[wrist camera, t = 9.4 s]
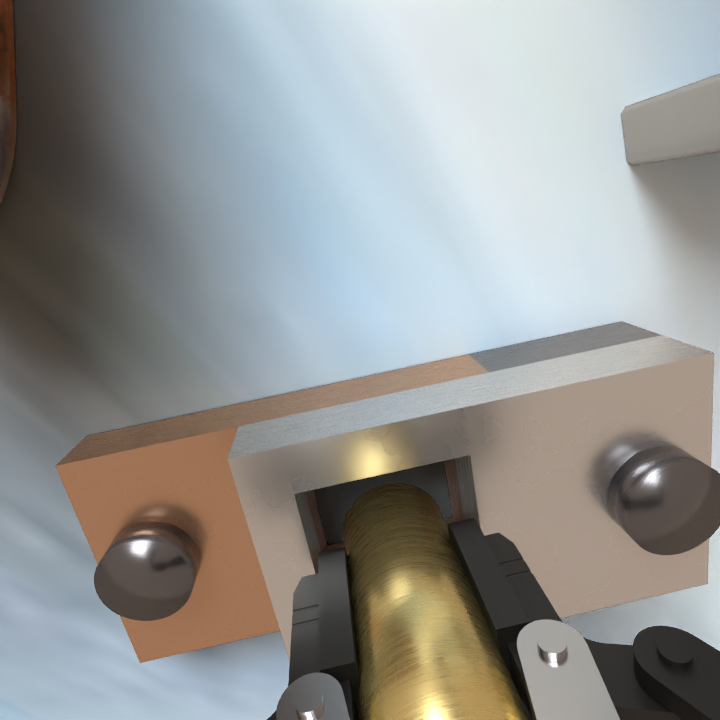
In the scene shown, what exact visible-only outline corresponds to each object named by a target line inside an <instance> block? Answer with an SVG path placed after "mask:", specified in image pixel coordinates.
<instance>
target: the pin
mask: <svg viewBox="0 0 720 720" xmlns="http://www.w3.org/2000/svg"><path fill="white" fill-rule="evenodd" d="M343 538H344V546H345V549H346V552H347V557H348V567H349V577H350V586H351V596H352V606H353V616H354V625H355V635H356V645H357V655H358V665H359V674H360V689H359V708H360V718H361V720H530V719H529V717H528V714H527V712H526V710H525V708H524V705H523V703H522V701H521V698H520V696H519V694H518V691H517V689H516V687H515V684H514V682H513V680H512V677H511V675H510V673H509V670H508V668H507V666H506V663H505V661H504V659H503V657H502V656H501V654H500V653H499V651H498V648H497V646H496V644H495V641H494V639H493V637H492V634H491V632H490V630H489V627H488V625H487V623H486V620H485V618H484V616H483V613H482V611H481V609H480V606H479V604H478V601H477V599H476V597H475V594H474V592H473V590H472V587H471V585H470V583H469V580H468V578H467V576H466V573H465V571H464V569H463V566H462V564H461V562H460V559H459V557H458V555H457V552H456V550H455V548H454V545H453V543H452V541H451V538H450V536H449V533H448V529H447V526H446V524H445V522H444V519H443V517H442V515H441V512H440V510H439V508H438V506H437V504H436V502H435V501H434V500H433V498H432V497H431V496H430V495H428V494H427V493H426V492H424V491H423V490H421V489H419V488H417V487H415V486H412V485H407V484H400V483H394V484H385V485H381V486H378V487H375V488H373V489H371V490H369V491H367V492H365V493H364V494H363V495H361V496H360V497H359V498H358V499H357V500H356V501H355V502H354V503H353V504H352V505H351V507H350V508H349V510H348V512H347V514H346V516H345V520H344V524H343Z"/></svg>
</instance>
